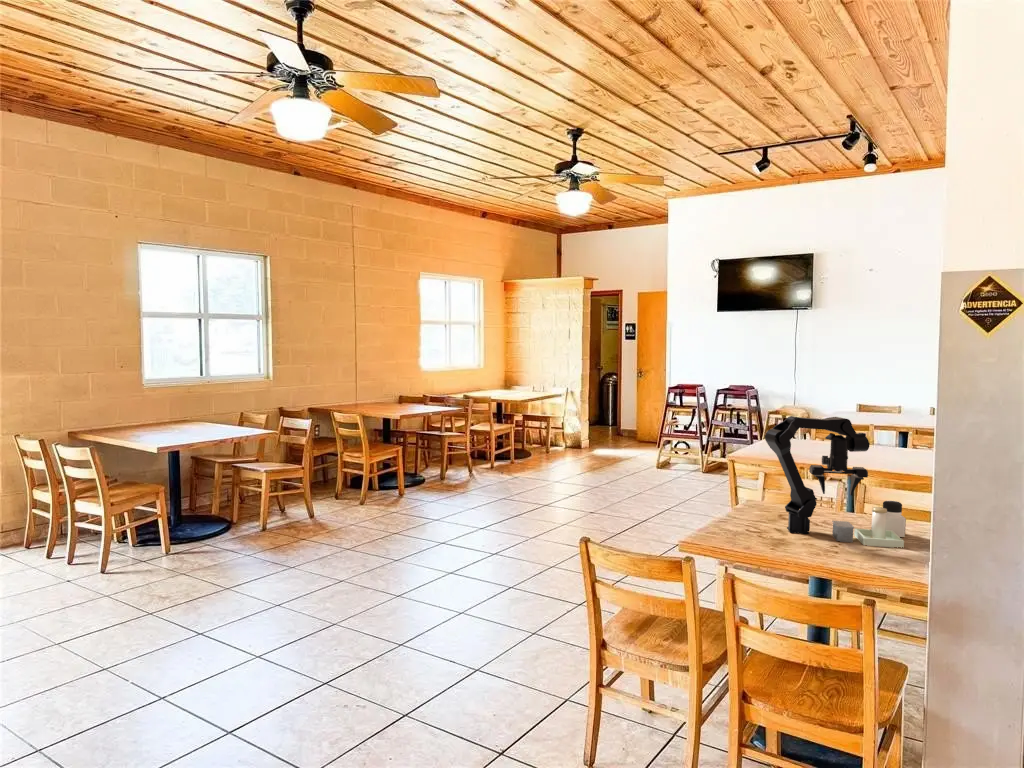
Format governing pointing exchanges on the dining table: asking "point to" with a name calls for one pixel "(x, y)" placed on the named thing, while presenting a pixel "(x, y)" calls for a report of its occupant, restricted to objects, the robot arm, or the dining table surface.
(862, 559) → the dining table surface
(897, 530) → the medicine bottle
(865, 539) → the tray
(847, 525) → the box
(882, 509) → the fuse
